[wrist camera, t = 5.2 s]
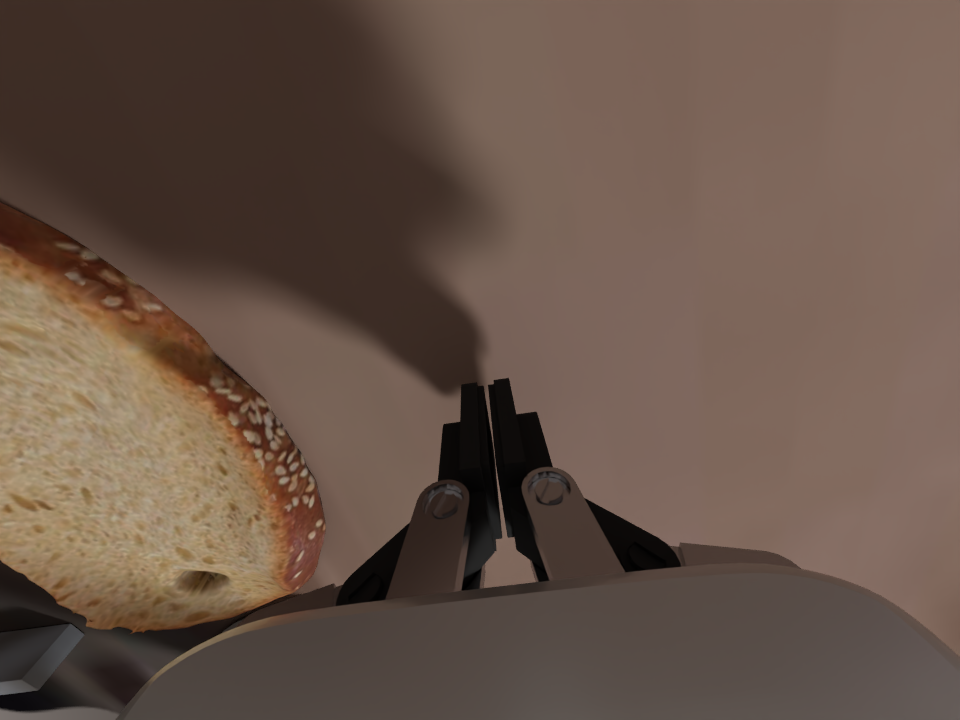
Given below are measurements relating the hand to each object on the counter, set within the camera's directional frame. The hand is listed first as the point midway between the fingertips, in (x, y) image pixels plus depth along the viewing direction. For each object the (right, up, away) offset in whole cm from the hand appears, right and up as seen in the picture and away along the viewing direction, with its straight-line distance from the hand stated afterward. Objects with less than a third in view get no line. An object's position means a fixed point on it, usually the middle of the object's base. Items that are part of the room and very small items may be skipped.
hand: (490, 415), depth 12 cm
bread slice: (-15, -1, +3) cm, 16 cm away
